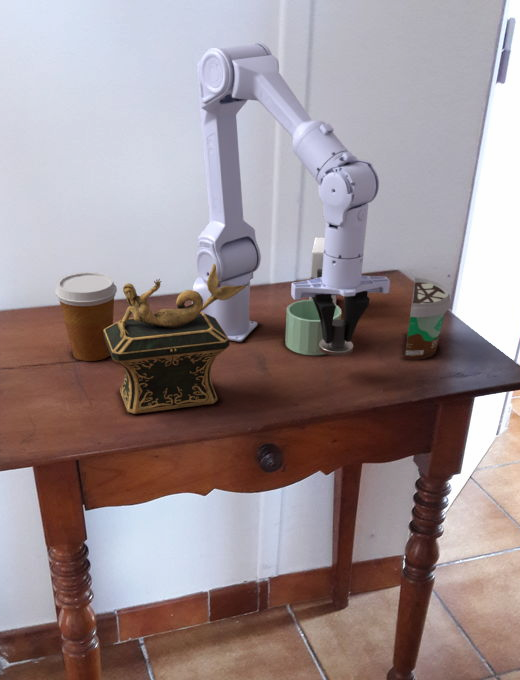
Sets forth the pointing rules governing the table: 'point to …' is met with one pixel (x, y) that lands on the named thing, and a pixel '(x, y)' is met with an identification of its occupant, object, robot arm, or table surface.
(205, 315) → the decorative box
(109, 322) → the disposable coffee cup
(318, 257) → the ink box
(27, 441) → the table surface
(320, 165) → the robot arm
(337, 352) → the lid
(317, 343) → the cup
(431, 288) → the food container
